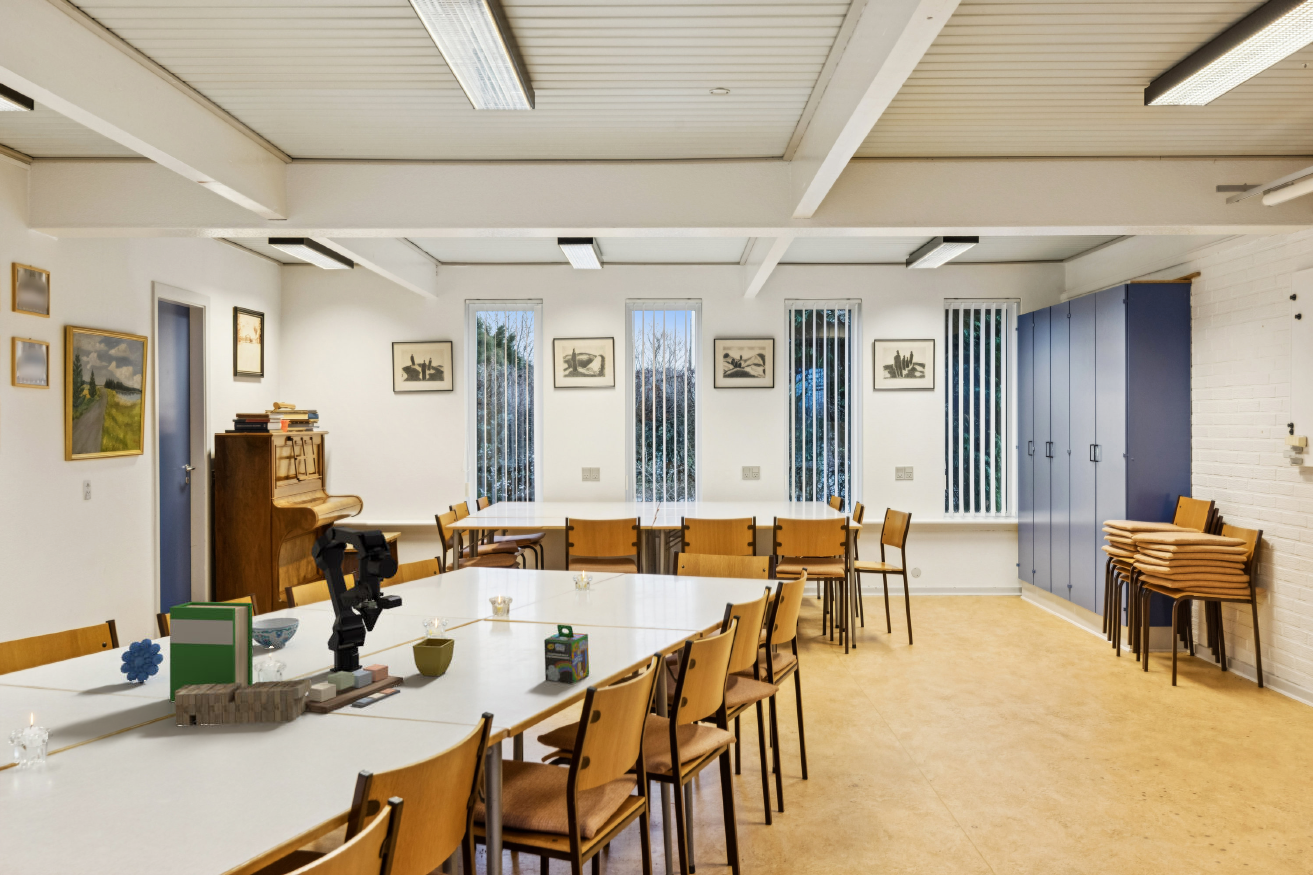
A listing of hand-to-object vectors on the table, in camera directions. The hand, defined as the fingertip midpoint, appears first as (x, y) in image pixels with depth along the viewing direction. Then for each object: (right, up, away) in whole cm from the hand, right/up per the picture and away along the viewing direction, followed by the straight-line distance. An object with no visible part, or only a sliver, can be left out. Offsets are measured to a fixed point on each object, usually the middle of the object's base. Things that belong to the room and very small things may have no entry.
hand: (369, 631), depth 214 cm
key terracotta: (+4, -11, -6) cm, 13 cm away
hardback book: (-35, -13, -16) cm, 41 cm away
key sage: (-1, -10, -17) cm, 20 cm away
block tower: (-19, -13, -31) cm, 39 cm away
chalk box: (+55, -13, -2) cm, 57 cm away
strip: (+8, -13, -18) cm, 24 cm away
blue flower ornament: (-63, -14, -1) cm, 64 cm away
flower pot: (+17, -13, +3) cm, 22 cm away
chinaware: (-45, -14, +36) cm, 59 cm away
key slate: (+2, -11, -12) cm, 16 cm away
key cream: (-3, -11, -23) cm, 25 cm away
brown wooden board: (0, -13, -14) cm, 19 cm away
